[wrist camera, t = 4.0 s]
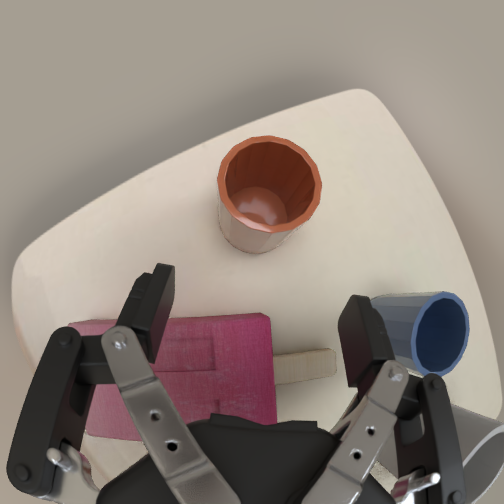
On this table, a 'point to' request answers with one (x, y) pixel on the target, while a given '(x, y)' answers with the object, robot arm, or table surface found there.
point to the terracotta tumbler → (265, 192)
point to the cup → (466, 451)
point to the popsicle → (210, 372)
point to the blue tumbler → (425, 329)
